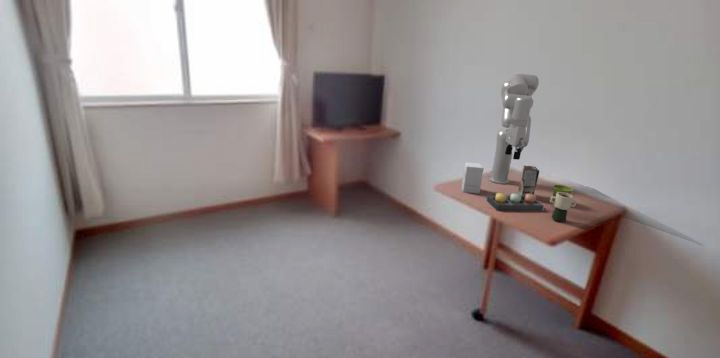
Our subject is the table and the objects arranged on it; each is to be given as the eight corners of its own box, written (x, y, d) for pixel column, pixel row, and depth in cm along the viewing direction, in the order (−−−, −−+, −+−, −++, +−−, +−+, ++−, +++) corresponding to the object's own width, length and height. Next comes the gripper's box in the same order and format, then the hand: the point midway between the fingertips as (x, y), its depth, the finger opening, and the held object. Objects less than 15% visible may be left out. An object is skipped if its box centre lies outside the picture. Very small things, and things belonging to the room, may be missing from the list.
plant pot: (556, 206, 194) (560, 190, 191) (545, 199, 202) (548, 184, 200) (572, 206, 195) (576, 190, 192) (560, 199, 204) (564, 184, 201)
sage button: (507, 200, 192) (509, 193, 191) (516, 200, 193) (518, 193, 191) (512, 204, 187) (514, 196, 186) (521, 204, 188) (523, 197, 187)
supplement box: (477, 188, 212) (482, 163, 207) (479, 194, 204) (484, 168, 199) (461, 186, 213) (465, 161, 208) (462, 192, 205) (466, 166, 200)
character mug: (569, 219, 179) (576, 194, 175) (572, 225, 173) (579, 199, 168) (544, 214, 182) (551, 190, 178) (546, 220, 176) (553, 195, 171)
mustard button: (493, 200, 191) (494, 192, 190) (502, 200, 192) (503, 193, 190) (497, 204, 186) (498, 196, 185) (506, 204, 187) (508, 196, 186)
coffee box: (533, 199, 201) (540, 171, 195) (520, 198, 202) (527, 169, 196) (529, 193, 209) (535, 166, 204) (517, 192, 210) (523, 164, 205)
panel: (486, 200, 195) (487, 195, 194) (529, 201, 198) (530, 196, 197) (497, 210, 184) (498, 205, 183) (542, 211, 187) (543, 205, 186)
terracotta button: (522, 200, 193) (523, 193, 192) (531, 200, 194) (533, 193, 192) (527, 204, 188) (529, 197, 187) (536, 204, 189) (538, 197, 188)
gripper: (503, 118, 192) (497, 151, 198) (521, 126, 175) (513, 161, 181) (517, 119, 192) (510, 152, 198) (535, 126, 176) (527, 162, 182)
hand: (512, 156), depth 190 cm, fingers open, 7 cm apart
